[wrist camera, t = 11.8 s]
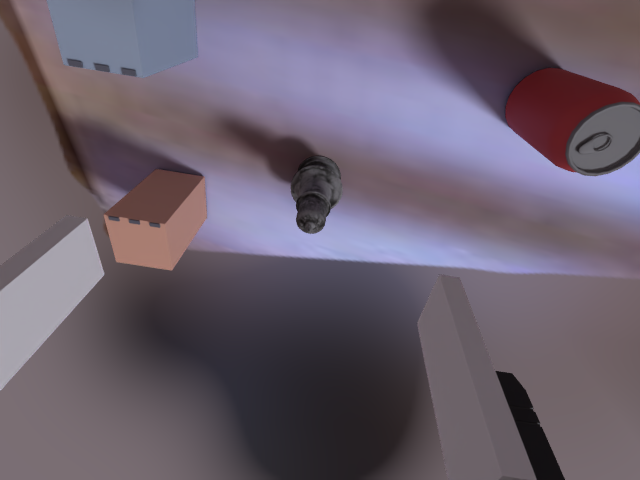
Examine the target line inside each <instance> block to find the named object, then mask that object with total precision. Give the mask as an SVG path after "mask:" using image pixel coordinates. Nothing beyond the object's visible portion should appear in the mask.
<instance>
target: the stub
mask: <svg viewBox="0 0 640 480" xmlns="http://www.w3.org/2000/svg"><path fill="white" fill-rule="evenodd" d="M104 217H105V221H106V225H107V229H108V232H109V236H110V240H111V244H112V247H113V251H114V255H115V259H116V262H121V263H127V264H134V265H140V266H146V267H153V268H159V269H166V270H173V268H174V267H175V265H176V264H177V262H178V261H179V259H180V257H181V256H182V255H183V253H184V251H185V250H186V248H187V247H188V245H189V244H190V242H191V241H192V239H193V238H194V236H195V235H196V233H197V232H198V230H199V229H200V227H201V226H202V224H203V223H204V221H205V220H206V218H207V209H206V193H205V177H204V176H198V175H191V174H185V173H179V172H172V171H166V170H160V169H155V170H154V171H153V172H152V173H151V174H150V175H149V176H147V177H146V178H145V179H144V180H143V181H142V182H141V183H139V184H138V185H137V186H136V187H135V188H134V189H132V190H131V191H130V192H129V193H128V194H127V195H126V196H124V197H123V198H122V199H121V200H120V201H119V202H118V203H116V204H115V205H114V206H113V207H112V208H111V209H109V210H108V211H107V212H106V213H105V214H104Z"/></svg>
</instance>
